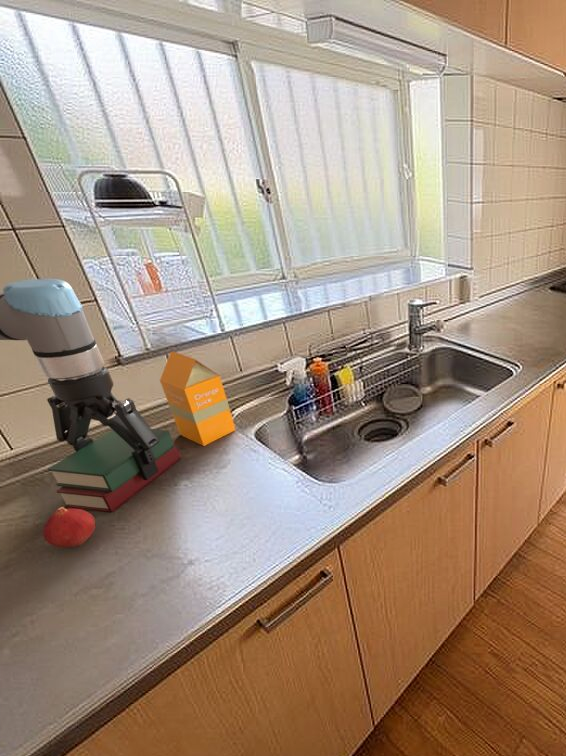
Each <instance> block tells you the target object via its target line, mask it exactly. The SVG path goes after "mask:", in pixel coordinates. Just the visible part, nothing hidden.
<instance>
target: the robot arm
mask: <svg viewBox="0 0 566 756" xmlns="http://www.w3.org/2000/svg"><path fill="white" fill-rule="evenodd" d="M0 341H27V343H28V345H29V346H30V348H31V351H32V353H33V355H34V357H35V359H36V361H37V364H38V365H39V368H40V369H41V372H42V374H43V376H45V377H46V378H47V382H48V384H49V386H50V389H51V390H52V392H53V394H54V395H52V396H50V397H47V399H46V400H47V403H48V405H49V406H50V408H51V412H52V418H53V425H54V431H55V436H56V440H57V441H58V442H60V443H63V442H66V443H67V444H68V445H69V446H71V447H73V449H74V451H75V452H77V451H78V450H80V449H82V448H83V447H85V446H87V445H88V444H90V443H92V442H93V441H94V440H93V438H89V437H91V435H90V434H89V429H90V425H91V421H92V420H93V421H96V422H99V423H101V425H103V426H105V427H108V428H110V429H111V431H112V430H113V431H115V432H116V433H117V434H118V435H119V436H120V437H121V438H122V439H123V440H124V441H125V442H126V443H128V444H129V445H130V446H131V447H132V448H133V449H134V450H135V451H133V452H132V455H133V457H134V459H135V462H136V464H137V466H138V469H139V471H140V473H141V475H142V478H143V480H148V479H149V478H151V477H152V476H153V475H155V474H156V473H157V472H159V471H158V468H157V466H156V463H155V456H154V454H153V452H152V449H151V448H152V447H154V446H155V445H157V444H158V443H159V442H160V441H159V439H158V438H157V436H156V435H155V434H154V432H153V431H152V430H151V429H152V428H151V427H150V426H149V425H148V423H147V421H146V420H145V419H144V418H143V416H142V415H141V414H140V412H139V411H138V409H137V407H136V405H135V402H134V400H133V399H132V398H129V397H128V398H126V399H124V400H121V399H117V398H116V397H115V396H114V395H113V393H112V390H113V387H114V381H113V378H112V376H111V374H110V371H109V369H108V367H106V366H105V364H106V363H105V361H104V358H103V356H102V353H101V351H100V349H99V347H98V344H97V342H96V339H95V338H94V335H93V333H92V331H91V328H90V326H89V323H88V320H87V318H86V314H85V312H84V309H83V304H82V303H81V302H80V300H79V298H78V297H77V295H76V292H75V291H74V289H73V287H72V286H71V284H69V283H68V282H67V281H65V280H63V279H57V278H31V279H24V280H18V281H14V282H13V281H12V282H11V283H8V284H6V285H5V286H3V288H2V292H0ZM114 414H115V415H114ZM113 415H114V416H113ZM111 416H112V417H111Z"/></svg>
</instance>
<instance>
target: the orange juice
mask: <svg viewBox="0 0 566 756" xmlns="http://www.w3.org/2000/svg"><path fill="white" fill-rule="evenodd" d="M159 382H160V385H161V387H162V391H163V392H164V395H165V398H166V401H167V405H168V407H169V410H170V412H171V414H172V418H173V420H174V423H175V426H176V428H177V430H178V433H179V435H180V436H181V435H182V436H181V437H184V438H186V439H187V440H190V441H193V442H195V443H197V444H199V445H201V446H203V447H204V446H206V445H208V444H210V443H213V442H214V441H216V440H218V439H221V438H222V437H224V436H226V435H229V434H231V433H232V432H234V431H236V425H235V422H234V419H233V416H232V413H231V409H230V405H229V402H228V401H229V400H228V399H227V395H226V392H225V389H224V386H223V382H222V378H221V375H219V374H218V373H216V372H215V371H214V370H212V369H210V368H209V367H207V366H206V365H204V364H203V363H201V362H200V361H198V360H197V359H195V358H192V357H190V356H187V355H185V354H182V353H178V352H175V351H172V350H170V353H169V356H168V359H167V361H166V363H165V366H164V369H163V372H162V374H161V376H160V378H159Z"/></svg>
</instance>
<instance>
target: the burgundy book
mask: <svg viewBox="0 0 566 756" xmlns="http://www.w3.org/2000/svg"><path fill="white" fill-rule="evenodd" d="M173 443H174V442H173ZM174 446H175V447H173V448H172V449H171V450H169V451H168V452H167V453H165V454H164V455H162V456H161V457H160V458H158V459H157V460H156V461H155V463H156V466H157V468H158V471H159V472H157V473H156V474H155V475H153V476H152V477H151V478H149V479H148V480H143V478H142V475H141V473H140V472H139V473H138V474H137V475H135V476H134V477H133V478H131V479H130V480H128V481H127V482H126V483H124V484H123V485H122V486H120V487H119V488H118V489H116V490H115V491H114V492H106V491H97V490H88V489H79V488H69V487H59V488H58V489H57V490H56V493H57V494H60V496H61V498H62V500H63V501H64V503H65V505H64V508H65V509H70V508H73V509H82V510H84V511H94V512H95V511H97V512H104V513H114V512H115V511H117V510H118V509H119V508H120V507H122V506H123V505H124V504H125V503H127V502H128V501H129V500H131V499H132V498H133V497H134V496H136V495H137V494H139V493H140V492H141V491H142V490H144V489H145V488H146V487H147V486H149V485H150V484H151V483H152V482H154V481H155V480H156V479H157V478H159V477H160V476H161V475H162V474H164V473H166V471H168V470H169V469H171V468H172V467H173V466H174V465H175V464H176V463H179V461H180V460H182V457H181V454H180V451H179V449H178V446H177V444H176V443H174Z"/></svg>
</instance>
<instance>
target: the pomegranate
mask: <svg viewBox="0 0 566 756" xmlns="http://www.w3.org/2000/svg"><path fill="white" fill-rule="evenodd" d="M95 529H96V521H95V517H94V516H93V515H92V513H90V512H88V511H87V510H85V509H75V508H66V507H64V506H61V507H58V508H57V509H56V511H55V512H54V513H53V514H51V515H50V516H49V518H48V519H47V520H46V522H45V524H44V525H43V527H42V535H43V539H44V541H45V542H46V543H47V544H48V545H51V546H53V547H57V548H72V547H79V546H82V545H83V544H84V543H85V542H86V541H87V540H88V539H89V538H90V537H91V536H92V534H93V533H94V531H95Z"/></svg>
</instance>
